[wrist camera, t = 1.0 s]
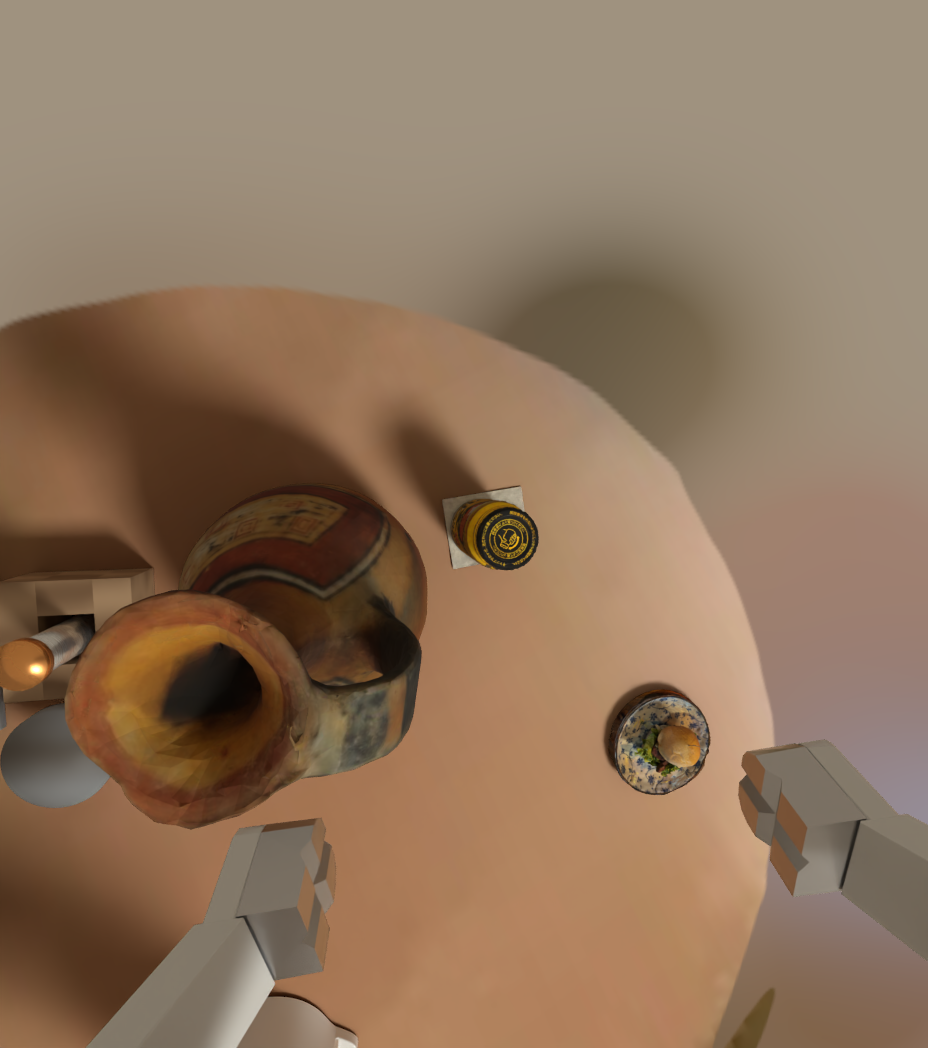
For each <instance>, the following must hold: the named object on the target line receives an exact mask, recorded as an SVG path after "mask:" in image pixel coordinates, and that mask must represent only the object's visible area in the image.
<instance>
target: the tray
mask: <svg viewBox="0 0 928 1048" xmlns="http://www.w3.org/2000/svg"><path fill="white" fill-rule="evenodd" d="M4 727H6V715H5V703H4V698H3V688H2V687H1V686H0V730H1V729H3V728H4Z"/></svg>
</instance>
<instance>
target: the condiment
mask: <svg viewBox="0 0 928 1048" xmlns="http://www.w3.org/2000/svg"><path fill="white" fill-rule="evenodd" d="M442 502H443V509H444V515H445V522H446V528H447V534H448V540H449V546H450V553H451V558H452V564H453V569H457V568H462V567H467V566H473V565H478V564H481V565H483V566H485V567H488V568H490V569H496V570H498V569H500V570H514V569H518V568H520V567H521V566H524V565H525V564H526V563H528V562H529V561H530V559H531V558H532V557H533V555H534V553H535V552H536V548H537V546H538V530H537V527H536V525H535V523H534V521H533V520H532V518H531V517H530V516H529V515H528V514H527V513H526V512H525V511H524V504H523V498H522V490H521V486H520V487H515V488H508V489H503V490H497V491H491V492H485V493H478V494H473V495H467V496H461V497H455V498H449V499H443V500H442Z"/></svg>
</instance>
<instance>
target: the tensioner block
mask: <svg viewBox="0 0 928 1048" xmlns="http://www.w3.org/2000/svg"><path fill="white" fill-rule="evenodd" d="M153 595H155V586H154V568H143V569H115V570H88V571H60V572H32V573H28V574H25V575H21V576H18V577H14V578H10V579H7V580H3V581H0V647H1V646H3V645H5V644H7V643H9V642H11V641H13V640H16V639H19V638H30V637H32V636H34V635H36V634H38V633H40V632H42V631H45V630H47V629H49V628H51V627H53V626H55V625H57V624H60V623H62V622H64V621H66V620H68V619H70V618H72V617H71V615H74V614H94V617H95V631H98V630H99V629H100V628H101V626H102V625H103V624H104V622H105V621H106V620H107V619H108V618H110V617H111V616H112V615H113V614H114V613H116V612H117V611H118V610H119V609H120V608H122V607H125V606H127V605H129V604H132V603H134V602H137V601H139V600H142V599H144V598H147V597H149V596H153ZM80 654H81V653H80ZM80 654H79V655H77V656H75V657H74V658H72V659H71V660H69V661H67V662H66V663H64V664H62V665H61V666H59V667H57V668H56V669H54V670H53V671H52V672H51V674H50V675H49V676H48V678H46V679H45V680H44V681H42V682H41V683H39V684H38V685H36V686H34V687H33V688H31V689H28V690H24V691H11V690H7V689H4V688H3V698H4V703H13V702H26V701H39V700H52V699H65V695H66V691H67V688H68V684H69V680H70V676H71V673H72V671H73V669H74V667H75V665H76V663H77V661H78V659H79V657H80ZM0 762H1V771H2V774H3V777H4V779H5V781H6V783H7V785H8V786H9V788H10V789H11V790H12V791H13V792H14V793H15V794H16V795H17V796H19V797H20V798H21V799H23V800H25V801H27V802H29V803H31V804H34V805H37V806H41V807H47V808H62V807H68V806H72V805H75V804H78V803H80V802H83V801H85V800H86V799H88V798H90V797H91V796H93V795H94V794H95V793H96V792H97V791H99V790H100V789H101V787H102V786H103V785H104V784H105V783H106V782H107V780H108V779H109V778H110V777H111V776H109V775H108V774H107V773H106V772H105V771H103V770H102V769H101V768H100V767H98V766H97V765H96V764H95V763H94V762H92V761H91V760H90V759H89V758H88V757H87V756H86V755H84V754H83V752H82V751H81V749H80V748H79V746H78V745H77V743H76V741H75V740H74V739H73V738H72V735H71V733H70V730H69V728H68V725H67V723H66V720H65V703H61V704H56V705H52V706H49V707H46V708H44V709H42V710H40V711H38V712H37V713H35V714H34V715H32V716H31V717H30V718H28V719H27V720H25V721H24V722H22V723H21V724H20V725H19V726H17V727H16V728H15V729H14V730H13V731H12V733H11V734H10V735H9V737H8V738H7V740H6V742H5V744H4V746H3V749H2V752H1V759H0Z"/></svg>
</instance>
